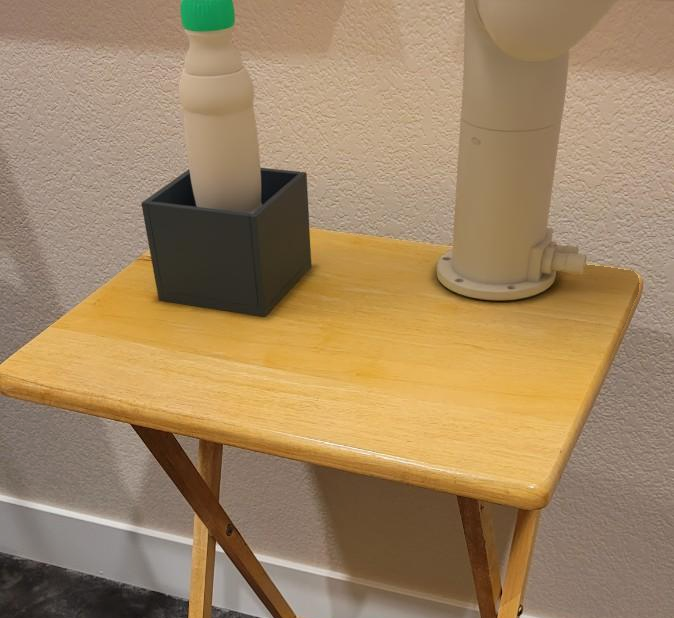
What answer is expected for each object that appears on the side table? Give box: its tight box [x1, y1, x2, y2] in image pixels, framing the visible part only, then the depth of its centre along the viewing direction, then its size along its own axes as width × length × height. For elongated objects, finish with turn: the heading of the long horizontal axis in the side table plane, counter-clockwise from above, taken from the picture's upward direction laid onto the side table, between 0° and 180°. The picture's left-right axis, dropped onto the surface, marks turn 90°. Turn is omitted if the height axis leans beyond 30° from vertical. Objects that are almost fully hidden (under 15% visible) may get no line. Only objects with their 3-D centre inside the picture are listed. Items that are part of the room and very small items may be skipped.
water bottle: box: [177, 0, 262, 214], centre depth 86 cm, size 7×7×25 cm
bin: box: [140, 167, 313, 318], centre depth 92 cm, size 12×12×10 cm
